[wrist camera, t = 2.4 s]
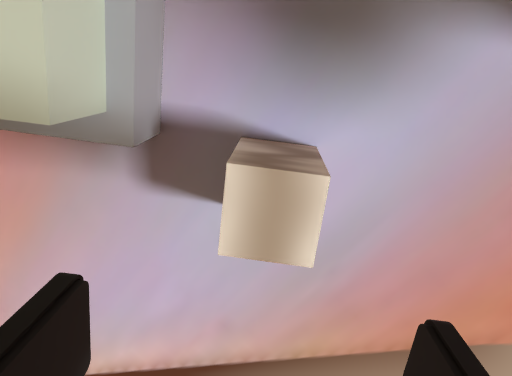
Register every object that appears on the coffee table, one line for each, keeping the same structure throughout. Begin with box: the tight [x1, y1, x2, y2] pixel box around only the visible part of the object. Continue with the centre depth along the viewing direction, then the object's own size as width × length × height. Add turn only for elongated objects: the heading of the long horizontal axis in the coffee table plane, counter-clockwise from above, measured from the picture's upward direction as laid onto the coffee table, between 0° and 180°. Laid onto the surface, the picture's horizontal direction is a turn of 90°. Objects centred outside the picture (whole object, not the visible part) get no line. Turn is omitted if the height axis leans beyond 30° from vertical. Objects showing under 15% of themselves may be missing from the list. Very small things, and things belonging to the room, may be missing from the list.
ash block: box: [218, 137, 331, 268], centre depth 21 cm, size 5×5×7 cm
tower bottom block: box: [0, 0, 165, 147], centre depth 20 cm, size 12×12×5 cm
